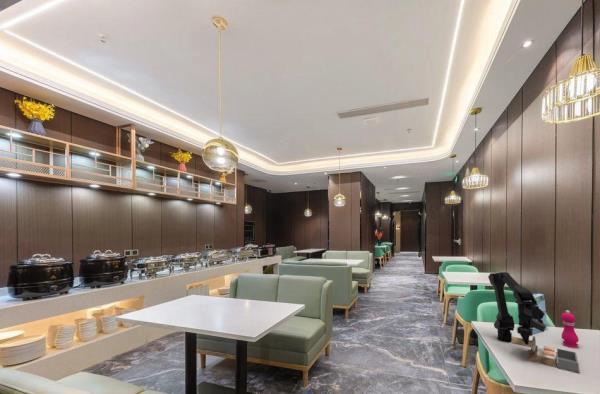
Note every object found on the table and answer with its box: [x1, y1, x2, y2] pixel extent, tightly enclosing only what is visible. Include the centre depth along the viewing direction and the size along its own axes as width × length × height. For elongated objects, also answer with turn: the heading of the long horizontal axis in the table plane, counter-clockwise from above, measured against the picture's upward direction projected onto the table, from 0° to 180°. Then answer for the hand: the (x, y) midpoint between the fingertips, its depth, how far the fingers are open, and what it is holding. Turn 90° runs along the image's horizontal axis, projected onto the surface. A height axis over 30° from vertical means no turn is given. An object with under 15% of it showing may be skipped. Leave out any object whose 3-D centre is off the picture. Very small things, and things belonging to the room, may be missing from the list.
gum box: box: [527, 292, 548, 335], centre depth 189 cm, size 20×5×23 cm, turn 116°
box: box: [555, 348, 580, 374], centre depth 144 cm, size 8×15×4 cm, turn 139°
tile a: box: [544, 350, 556, 358], centre depth 146 cm, size 4×4×1 cm
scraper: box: [511, 336, 537, 352], centre depth 155 cm, size 10×12×4 cm
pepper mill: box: [560, 309, 579, 349], centre depth 166 cm, size 7×7×20 cm
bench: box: [527, 344, 557, 368], centre depth 150 cm, size 11×14×4 cm
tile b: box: [543, 345, 555, 352], centre depth 150 cm, size 4×4×1 cm
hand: (526, 343), depth 154 cm, fingers closed on scraper, 2 cm apart
